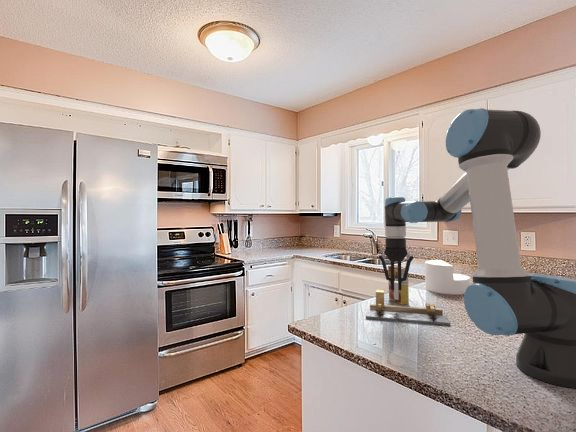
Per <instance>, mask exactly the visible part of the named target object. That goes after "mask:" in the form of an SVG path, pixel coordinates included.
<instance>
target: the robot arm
mask: <svg viewBox="0 0 576 432" xmlns="http://www.w3.org/2000/svg"><path fill="white" fill-rule="evenodd" d="M541 134H542V131H541V127H540V124H539V122H538V120H537V119H536V118H535V117H534V116H533V115H532V114H530V113H528V112H526V111H522V110H502V109H486V108H481V107H480V108H475V109H474V108H471V109H466V110H465V109H464V110H462V111H461V112H460V113H459V114H457V115H456V116H455V117H454V119H453V120H452V121H451V122H450V125H449V126H448V129H447V131H446V135H445V149H446V152H447V153H448V154H449V155H450V156H451V157H453V158H457V163H458V168H459V169H460V170H461V171H463V172H465V173H463V175H462V176H461V177H459V179H458V180H457V181H456V182H455V183H454V184H453V185H451V186H450V187H449V189H447V191H446V192H445V193H443V195H441V197H439V198H438V199H437V200H422V201H421V200H409V201H406V198H405V197H404V196H392V197H388V196H387V197H386V198H385V200H384V201H385V202H384V225H385V226H384V231H385V233H384V234H385V237H386V238H385V239H384V240H385V245H384V246H385V250H384V251H383V253H381V254H379V255H378V258H379V260H380V262H381V265H382V267H383V272H384V276H385V280H386V281H388V282H389V281H391V290H394V299H395V300H398V290H400V291H401V283H402V281H406V279H407V275H408V276H409V271H410V267H411V262H412V261H413V260H414V259H415V258H414V256H413V255H412V254H409V253H408V251H407V240H406V239H407V238H405V237H407V226H406V225H407V224H406V223H409V224H418V223H451V222H455V221H458V220H459V219H460V216H461V215H462V212H463V211H462V209H464V208H465V207H466V206H467V205H468V204H470V211H471V218H472V226H473V227H472V228H473V235H474V242H475V252H476V260H477V269H476V270H475V272H473V273H472V277H471V278H472V283H470V286H468V287H467V289H466V292H465V293H464V294H463V304H464V309H465V311H466V313H467V316H468V317H469V319H470V321H472V322H473V323H474V325H475V326H476V327H477V328H478V329H479V330H480V331H482V332H483V333H485V334H487V335H491V336H506V337H510V336H514V335H521V334H524V335H523V337H522V340H521V343H520V345H519V348H518V350H517V352H516V355H515V360H516V361H515V365H516V367H517V368H518V369H519V370H520V371H521V372H522V373H524V374H526V375H527V376H530V377H532V378H533V379H536V380H538V381H542V382H545V383H547V384H551V385H555V386H561V387H565V388H569V389H576V279H572V278H568V277H561V276H554V275H551V274H550V275H549V274H544V273H535V272H529V271H527V270H525V269H524V268H523V267H522V263H521V254H520V248H519V243H518V236H517V235H518V233H517V229H516V227H517V226H516V222H515V221H516V220H515V214H514V208H513V207H514V206H513V200H512V194H511V193H512V192H511V186H510V179H509V172H508V171H509V170H513V169H517V168H519V166H521V165H522V164H524V163H525V162H526V161H527V160H528V159H529V158H530V157H531V156H532V155H533V153H534V152H535V151H536V149H537V148H538V146H539V144H540V140H541ZM405 257H406V263H405V267H404V268H405V271H404V275H403V277H402V278H401V267H402V261H404V259H405ZM386 258H387V259H388V261H390V266H391V277H389V275H388V266H387V263H386V260H385V259H386ZM395 262H397V266H398V281H394V265H395Z"/></svg>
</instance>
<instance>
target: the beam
mask: <svg viewBox="0 0 576 432" xmlns="http://www.w3.org/2000/svg"><path fill="white" fill-rule="evenodd" d="M436 306H437V305H435V303H429V302H428V303H427V302H425V307H424V306H423V307H422V306H421V307H420V306H410V305H409V306H407V305H394V304H384V311H389V312H402V313H416V314H430V315H432V317H434V315H443V316H444V314H443V313H444V311H443V309H442V308H438V307H436ZM369 310H375V311H376V303H370V304H369Z"/></svg>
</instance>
